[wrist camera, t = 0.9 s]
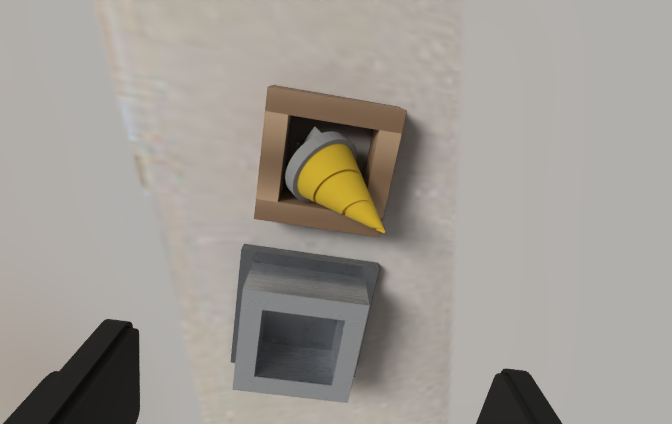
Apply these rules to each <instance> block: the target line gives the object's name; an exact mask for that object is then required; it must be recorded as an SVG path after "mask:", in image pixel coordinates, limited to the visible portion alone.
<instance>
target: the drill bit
mask: <svg viewBox="0 0 672 424" xmlns="http://www.w3.org/2000/svg"><path fill="white" fill-rule="evenodd" d="M356 158H357V152H356V148H355V146H354V145H353V144H352V143H351V142H350V141H349V140H348V139H347V138H346V137H345V136H344V135H343V134H341V133H339V132H334V131H329V132H324V133H321V132H320V131H319V130H318V129H317V128H316V127H315V126H314V128H313V129H312V131H311V132H310V134H309V135H308V136H307V138H306V139H305V141H304V142H303V144H302V145H301V144H299V143H297V151H296V152H295V154H294V155H293V157H292V158H291V160H290V162H289V164H288V166H287V170H286V175H285V180H286V185H287V187H288V189H289V190H290V191H291V192H292V193H293V194H294V195H295V197H296V198H297V199H298V200H300V201H302V202H306V203H312V202H316V203H318V204H320V205H322V206H325V207H327V208H329V209H331V210H333V211H336V212H338V213H340V214H342V215H344V214H345V216H347V217H349V218H351V219H353V220H355V221H358V222H360V223H362V224H364V225H366V226H369V227H371V228H375V229H376V230H377V231H380V232H382V233H385V229H384V227H383V225H382V222H381V220H380V217H379V215H378V213H377V210H376V208H375V206H374V203H373V201H372V199H371V196H370V194H369V191H368V189H367V187H366V184H365V182H364V180H363V177H362V175H361V173H360V170H359V168H358V166H357V163H356Z"/></svg>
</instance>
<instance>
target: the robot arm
mask: <svg viewBox="0 0 672 424" xmlns="http://www.w3.org/2000/svg"><path fill="white" fill-rule="evenodd" d="M139 379H140V373H139V330H138V329H135V328H133V325H132V323H131V322H127V321H119V320H111V319H106V320H104V321H103V322H102V323H101V324H100V325H99V327H98V328H97V329H96V330H95V331H94V332H93V333H92V334H91V336H90V337H89V338H88V339H87V340H86V341H85V342H84V344H83V345H82V346H81V347H80V348H79V349H78V350H77V352H76V353H75V354H74V355H73V356H72V357H71V359H70V360H69V361H68V362H67V363H66V364H65V365H64V367H63V368H62V369H61V370H60V371H54V372H52V373H50V374H49V375H48V376H46V377H45V378H44V379H43V380H42V381H41V383H39V385H38V386H37V387H36V388H35V389H34V390H33V391H32V392H31V394H30V395H29V396H28V397H27V398H26V399H25V400H24V401H23V402H22V403H21V405H20V406H19V407H18V408H17V409H16V410H15V411H14V412H13V413H12V414H11V416H10V417H9V418H8V419H7V420H6V421H5V422H4V423H3V424H136V422H137V419H138V416H139V411H140V385H139V384H140V382H139V381H140V380H139ZM476 424H562V423H561V421H560V419H559V418H558V416H557V415H556V413H555V412H554V410H553V409H552V407H551V406H550V404H549V402H548V401H547V400H546V398H545V396H544V395H543V393H542V392H541V390H540V389H539V387H538V386H537V384H536V382H535V381H534V379H533V378H532V376H531V375H530V374H529V373H528V372H526V371H522V370H514V369H503V370H502V371H501V373H498V374H496V375H495V377H494V379H493V382H492V385H491V387H490V390H489V392H488V395H487V397H486V400H485V402H484V405H483V407H482V410H481V413H480V415H479V418H478V420H477V423H476Z"/></svg>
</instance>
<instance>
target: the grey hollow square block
mask: <svg viewBox="0 0 672 424" xmlns="http://www.w3.org/2000/svg"><path fill="white" fill-rule="evenodd" d="M378 272H379V266H378V263H375V262H368V261H361V260H354V259H347V258H340V257H333V256H326V255H319V254H312V253H304V252H297V251H290V250H283V249H276V248H269V247H262V246H255V245H248V244H244V245H243V247H242V249H241V259H240V270H239V280H238V291H237V301H236V312H235V322H234V333H233V343H232V354H231V362H233V363H235V372H234V382H233V390H240V391H249V392H258V393H266V394H275V395H284V396H293V397H301V398H310V399H319V400H328V401H336V402H345V403H348V398H349V394H350V390H351V385H352V381H353V377H355V372H356V368H357V364H358V359H359V355H360V350H361V346H362V342H363V337H364V333H365V329H366V324H367V320H368V315H369V311H370V307H371V302H372V298H373V294H374V289H375V285H376V280H377V276H378Z"/></svg>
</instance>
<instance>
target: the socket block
mask: <svg viewBox="0 0 672 424" xmlns="http://www.w3.org/2000/svg"><path fill="white" fill-rule="evenodd" d="M406 112H407V111H406V110H404V109H402V108H400V107H397V106H392V105H386V104H380V103H374V102H369V101H363V100H357V99H351V98H345V97H340V96H334V95H328V94H322V93H316V92H311V91H305V90H299V89H293V88H288V87H282V86H276V85H272V86H269V87H268V89H267V98H266V108H265V118H264V127H263V137H262V147H261V156H260V166H259V176H258V185H257V195H256V205H255V214H254V219H259V220H265V221H272V222H279V223H286V224H293V225H299V226H306V227H313V228H320V229H327V230H334V231H340V232H347V233H354V234H361V235H368V236H374V237H379V234H380V231H377V230H376V229H375V228H371V227H369V226H366V225H364V224H362V223H360V222H358V221H355V220H353V219H351V218H349V217H347V216H345V214H344V215H342V214H340V213H338V212H336V211H333V210H331V209H329V208H327V207H325V206H322V205H320V204H318V203H316V202H312V203H306V202H302V201H300V200H298V199H297V198H296V197H295V195H294V194H293V193H292V192H291V191H287V190H282V189H283V181H284V173H285V165H286V157H287V149H288V141H289V133H290V125H291V117H292V116H298V117H304V118H310V119H316V120H322V121H328V122H334V123H340V124H346V125H352V126H358V127H364V128H370V129H373V133H372V139H371V144H370V149H369V154H368V159H367V164H366V169H365V174H364V179H363V180H364V182H365V184H366V187H367V189H368V191H369V194H370V196H371V199H372V201H373V203H374V206H375V208H376V210H377V213H378V215H379V217H380V220H381V222H382V221H383V216H384V211H385V207H386V202H387V198H388V193H389V189H390V184H391V180H392V175H393V171H394V166H395V162H396V157H397V153H398V148H399V144H400V139H401V135H402V130H403V126H404V121H405V117H406Z"/></svg>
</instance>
